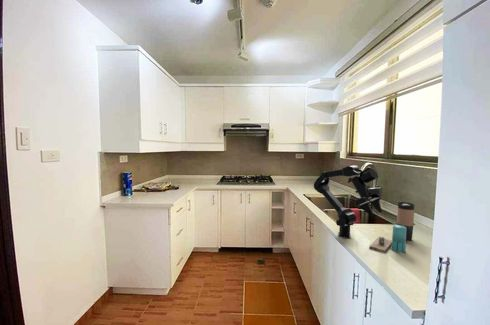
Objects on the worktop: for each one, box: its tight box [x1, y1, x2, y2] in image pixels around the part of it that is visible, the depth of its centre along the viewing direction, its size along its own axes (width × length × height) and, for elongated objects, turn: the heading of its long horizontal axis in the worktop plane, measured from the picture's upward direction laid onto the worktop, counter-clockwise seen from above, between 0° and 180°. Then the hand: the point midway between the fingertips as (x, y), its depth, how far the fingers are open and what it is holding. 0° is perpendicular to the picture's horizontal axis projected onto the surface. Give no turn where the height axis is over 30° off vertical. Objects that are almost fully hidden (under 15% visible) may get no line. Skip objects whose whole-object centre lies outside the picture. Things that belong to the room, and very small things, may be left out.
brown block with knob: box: [369, 236, 392, 253], centre depth 121 cm, size 7×16×4 cm, turn 136°
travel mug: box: [396, 201, 415, 242], centre depth 129 cm, size 8×8×20 cm
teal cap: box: [390, 224, 407, 254], centre depth 115 cm, size 6×6×12 cm
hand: (377, 214), depth 119 cm, fingers open, 9 cm apart
